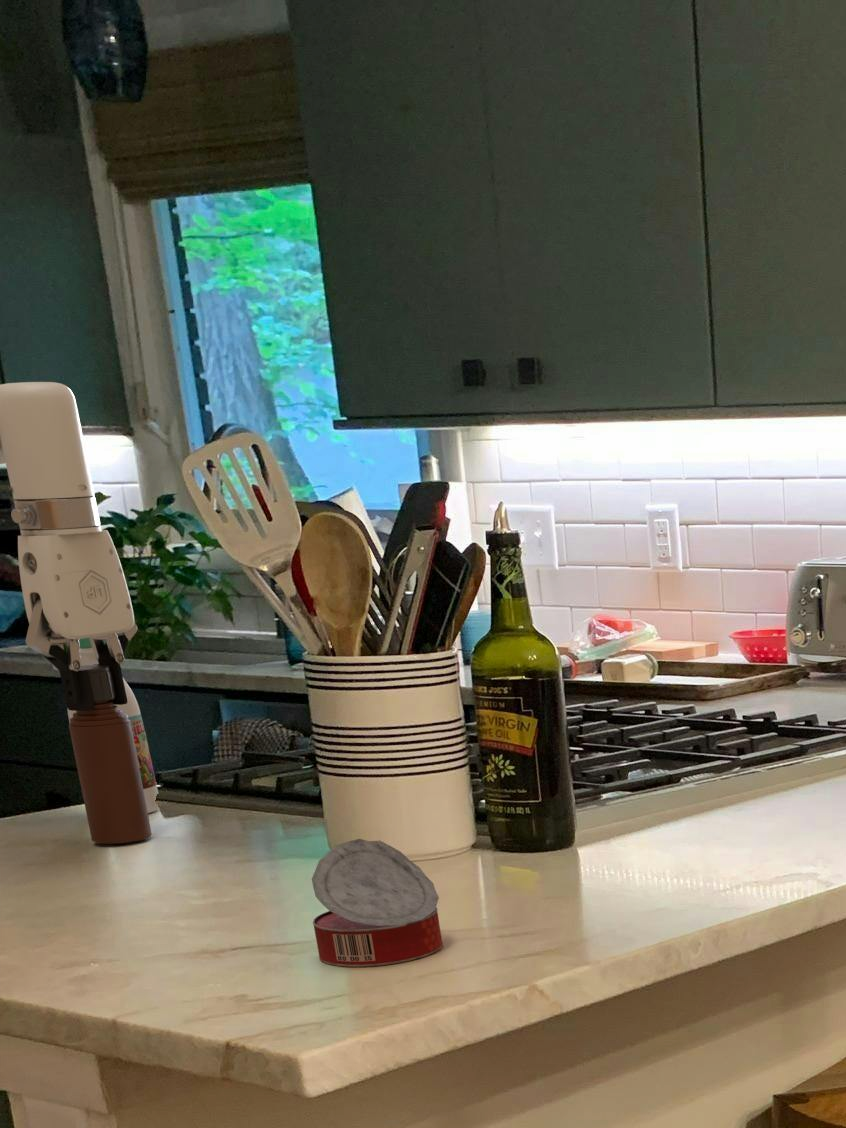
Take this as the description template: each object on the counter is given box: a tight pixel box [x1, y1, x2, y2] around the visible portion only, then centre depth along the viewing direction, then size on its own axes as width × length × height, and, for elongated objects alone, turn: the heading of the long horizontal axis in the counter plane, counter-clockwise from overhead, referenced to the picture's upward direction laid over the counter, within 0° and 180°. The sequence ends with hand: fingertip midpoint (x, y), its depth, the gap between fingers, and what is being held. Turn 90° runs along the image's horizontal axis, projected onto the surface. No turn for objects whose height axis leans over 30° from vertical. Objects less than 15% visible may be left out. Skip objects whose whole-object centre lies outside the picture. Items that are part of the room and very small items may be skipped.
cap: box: [80, 665, 115, 702], centre depth 200 cm, size 4×4×3 cm
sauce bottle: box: [68, 700, 153, 845], centre depth 203 cm, size 6×6×17 cm
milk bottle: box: [66, 638, 160, 814], centre depth 218 cm, size 8×8×20 cm
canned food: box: [311, 838, 444, 968], centre depth 157 cm, size 11×10×10 cm
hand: (97, 705), depth 200 cm, fingers closed on cap, 3 cm apart
